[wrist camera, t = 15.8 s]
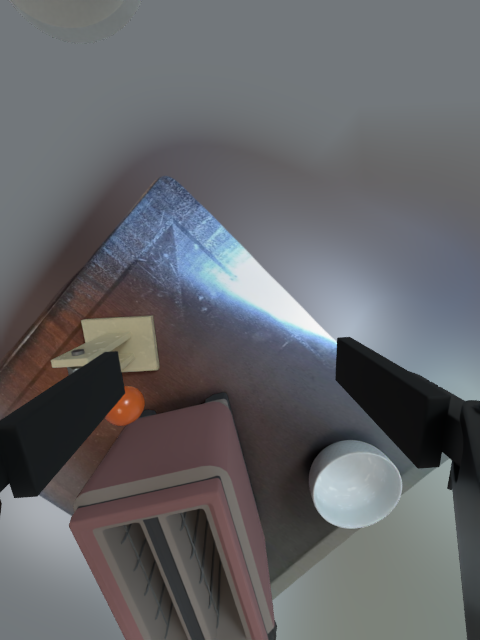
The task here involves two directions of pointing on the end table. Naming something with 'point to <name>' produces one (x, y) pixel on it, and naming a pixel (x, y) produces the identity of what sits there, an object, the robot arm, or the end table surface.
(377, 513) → the cereal bowl
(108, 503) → the toaster
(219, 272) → the end table surface
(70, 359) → the bracket
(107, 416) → the lever
